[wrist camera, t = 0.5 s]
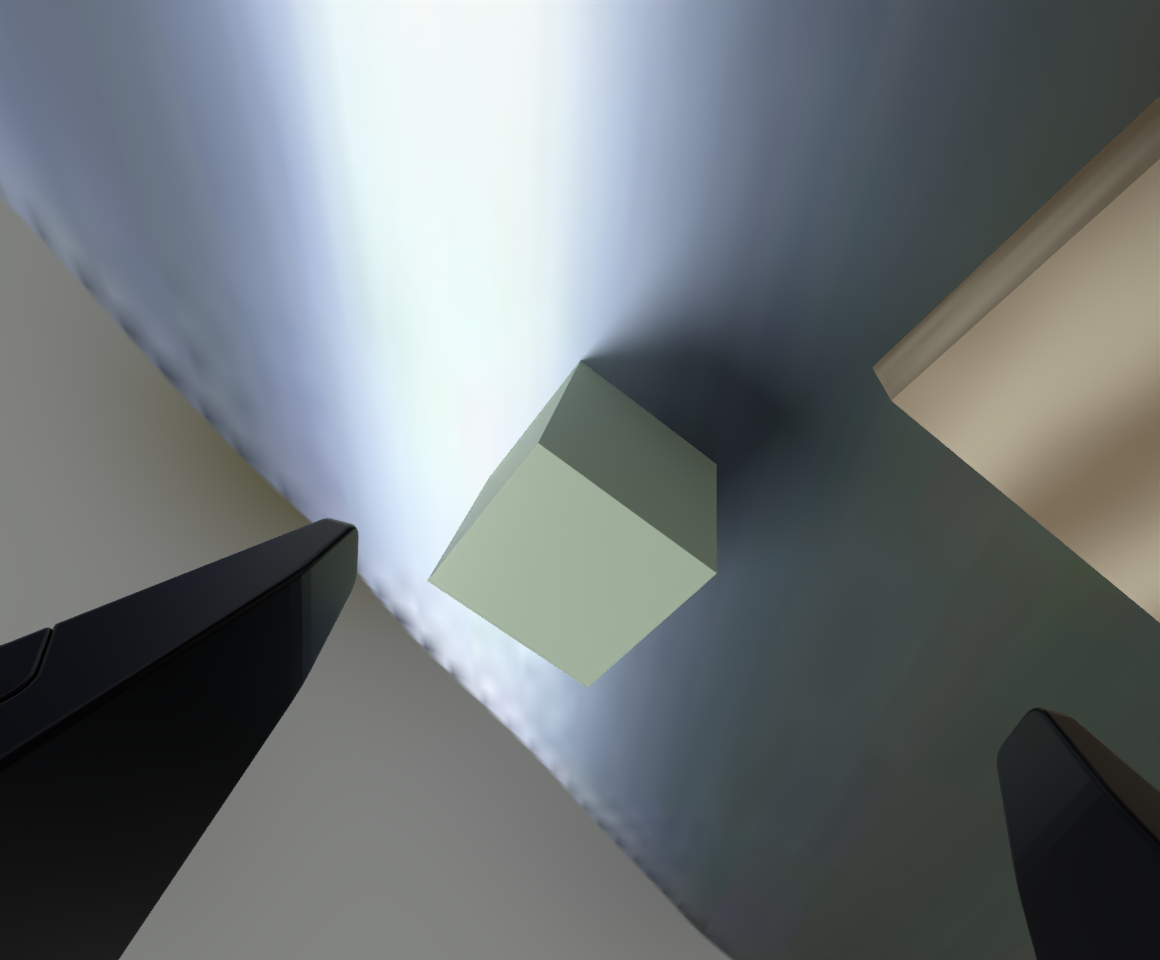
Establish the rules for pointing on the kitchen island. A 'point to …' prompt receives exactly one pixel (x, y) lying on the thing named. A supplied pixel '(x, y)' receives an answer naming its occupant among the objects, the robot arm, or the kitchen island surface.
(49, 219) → the kitchen island surface
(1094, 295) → the birch base brick
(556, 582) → the sage brick
